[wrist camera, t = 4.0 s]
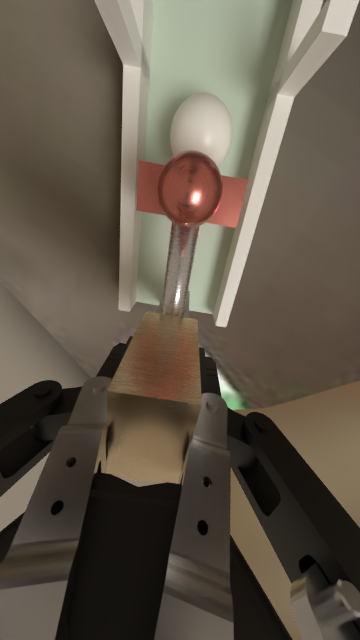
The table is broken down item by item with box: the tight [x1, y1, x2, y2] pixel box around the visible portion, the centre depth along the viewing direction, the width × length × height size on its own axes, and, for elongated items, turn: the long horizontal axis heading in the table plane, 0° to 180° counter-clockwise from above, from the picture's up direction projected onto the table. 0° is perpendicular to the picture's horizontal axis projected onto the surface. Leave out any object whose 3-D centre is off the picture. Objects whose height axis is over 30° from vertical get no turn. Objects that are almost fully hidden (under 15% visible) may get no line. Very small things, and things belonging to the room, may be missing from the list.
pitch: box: [94, 0, 359, 327], centre depth 13 cm, size 22×10×8 cm, turn 171°
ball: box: [170, 92, 233, 167], centre depth 13 cm, size 4×4×4 cm
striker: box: [107, 150, 248, 484], centre depth 12 cm, size 12×5×14 cm, turn 171°
